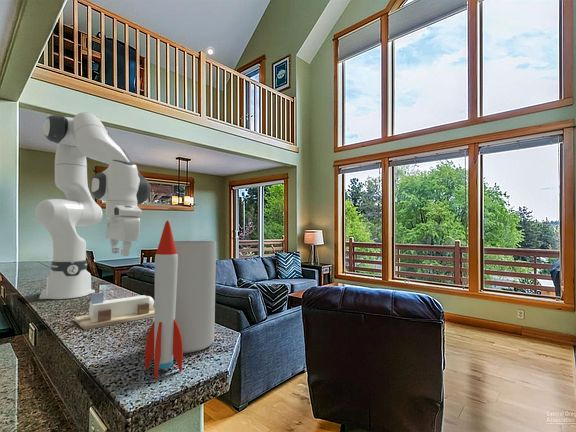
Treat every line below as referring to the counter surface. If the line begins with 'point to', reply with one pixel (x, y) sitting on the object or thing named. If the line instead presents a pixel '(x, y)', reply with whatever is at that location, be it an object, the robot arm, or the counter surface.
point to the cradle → (106, 319)
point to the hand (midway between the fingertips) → (119, 254)
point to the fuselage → (117, 305)
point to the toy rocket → (165, 308)
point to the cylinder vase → (196, 293)
